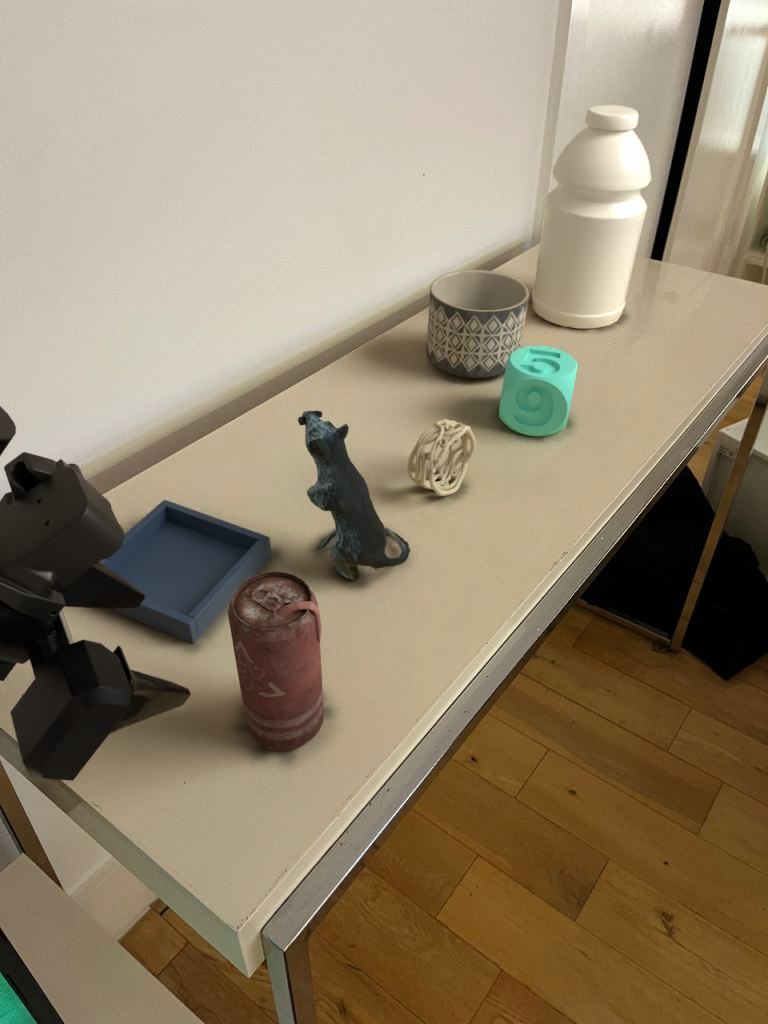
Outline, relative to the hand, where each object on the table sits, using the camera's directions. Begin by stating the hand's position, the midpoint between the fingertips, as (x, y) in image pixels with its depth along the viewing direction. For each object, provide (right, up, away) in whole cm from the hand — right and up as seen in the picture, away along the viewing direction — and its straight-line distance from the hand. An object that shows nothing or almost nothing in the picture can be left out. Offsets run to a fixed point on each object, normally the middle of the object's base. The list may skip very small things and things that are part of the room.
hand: (162, 646), depth 50 cm
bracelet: (+20, +11, +35) cm, 42 cm away
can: (+7, -8, +12) cm, 16 cm away
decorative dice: (+33, +20, +46) cm, 60 cm away
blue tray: (-5, +3, +24) cm, 25 cm away
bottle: (+44, +40, +70) cm, 91 cm away
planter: (+26, +29, +57) cm, 69 cm away
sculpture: (+11, +4, +27) cm, 29 cm away
